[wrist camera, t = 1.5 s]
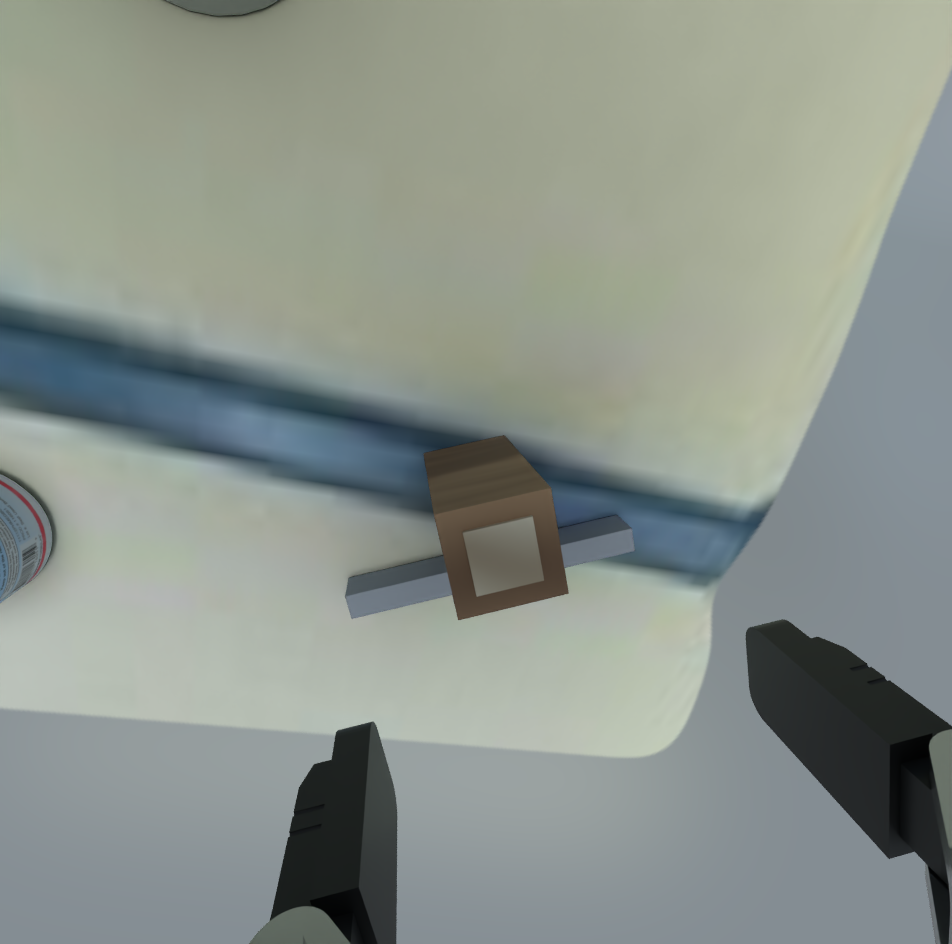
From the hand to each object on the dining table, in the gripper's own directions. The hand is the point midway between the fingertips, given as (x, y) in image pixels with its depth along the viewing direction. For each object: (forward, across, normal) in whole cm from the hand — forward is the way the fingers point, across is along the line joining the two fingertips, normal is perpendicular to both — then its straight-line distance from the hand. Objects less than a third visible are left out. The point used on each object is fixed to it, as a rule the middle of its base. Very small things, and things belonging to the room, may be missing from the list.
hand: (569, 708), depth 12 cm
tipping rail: (+17, 0, +4) cm, 17 cm away
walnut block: (+17, 0, 0) cm, 17 cm away
